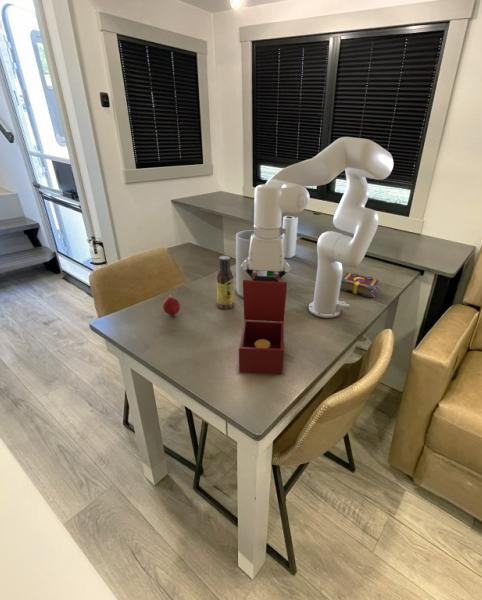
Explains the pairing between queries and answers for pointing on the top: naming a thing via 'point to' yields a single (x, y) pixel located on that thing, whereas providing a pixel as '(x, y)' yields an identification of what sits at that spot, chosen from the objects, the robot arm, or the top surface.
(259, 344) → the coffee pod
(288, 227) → the paper towel roll
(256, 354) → the red bin
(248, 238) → the cylinder vase
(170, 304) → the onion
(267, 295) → the lid
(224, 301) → the sauce bottle
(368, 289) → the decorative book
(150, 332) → the top surface
